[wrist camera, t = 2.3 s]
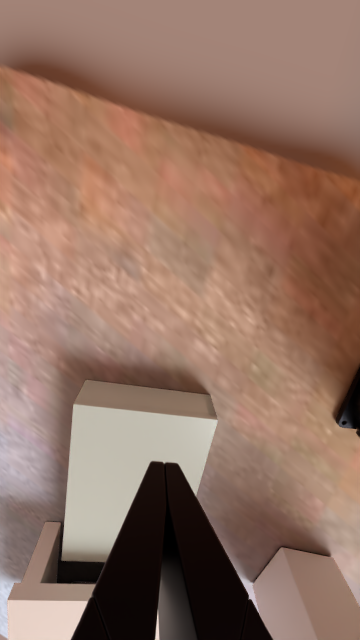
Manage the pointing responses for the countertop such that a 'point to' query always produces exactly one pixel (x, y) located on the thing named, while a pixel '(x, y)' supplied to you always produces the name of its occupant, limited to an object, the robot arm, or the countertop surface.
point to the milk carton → (306, 598)
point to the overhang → (47, 596)
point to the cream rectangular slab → (126, 455)
